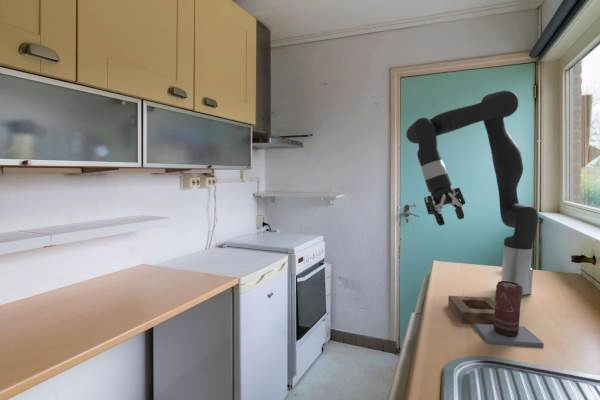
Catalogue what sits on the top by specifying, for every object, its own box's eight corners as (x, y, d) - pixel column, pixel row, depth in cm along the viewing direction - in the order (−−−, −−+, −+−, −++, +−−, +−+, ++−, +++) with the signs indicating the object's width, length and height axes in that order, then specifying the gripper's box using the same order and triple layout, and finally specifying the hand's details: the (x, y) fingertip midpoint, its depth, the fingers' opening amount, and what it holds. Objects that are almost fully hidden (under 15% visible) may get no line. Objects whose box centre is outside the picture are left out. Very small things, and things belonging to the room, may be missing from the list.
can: (522, 338, 98) (526, 288, 96) (497, 336, 99) (500, 286, 98) (514, 328, 104) (518, 281, 102) (490, 326, 105) (493, 279, 103)
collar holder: (489, 307, 121) (490, 297, 121) (508, 325, 108) (509, 314, 107) (448, 305, 123) (448, 295, 122) (461, 323, 109) (462, 311, 109)
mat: (524, 329, 105) (524, 326, 105) (543, 346, 95) (543, 343, 95) (474, 326, 107) (474, 323, 107) (487, 343, 97) (488, 339, 97)
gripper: (426, 177, 116) (443, 225, 114) (459, 168, 121) (476, 214, 119) (412, 183, 123) (428, 229, 121) (444, 174, 128) (459, 218, 126)
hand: (452, 222), depth 120 cm, fingers open, 8 cm apart
